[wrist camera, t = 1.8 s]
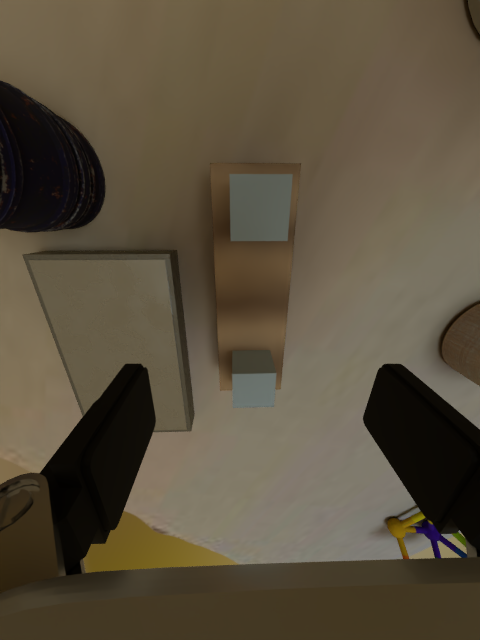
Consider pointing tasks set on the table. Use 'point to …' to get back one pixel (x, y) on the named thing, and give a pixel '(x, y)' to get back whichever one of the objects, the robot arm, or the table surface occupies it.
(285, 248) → the wooden block carrier
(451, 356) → the planter
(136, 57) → the table surface
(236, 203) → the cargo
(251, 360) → the block
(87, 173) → the storage jar
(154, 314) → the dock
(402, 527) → the educational toy
